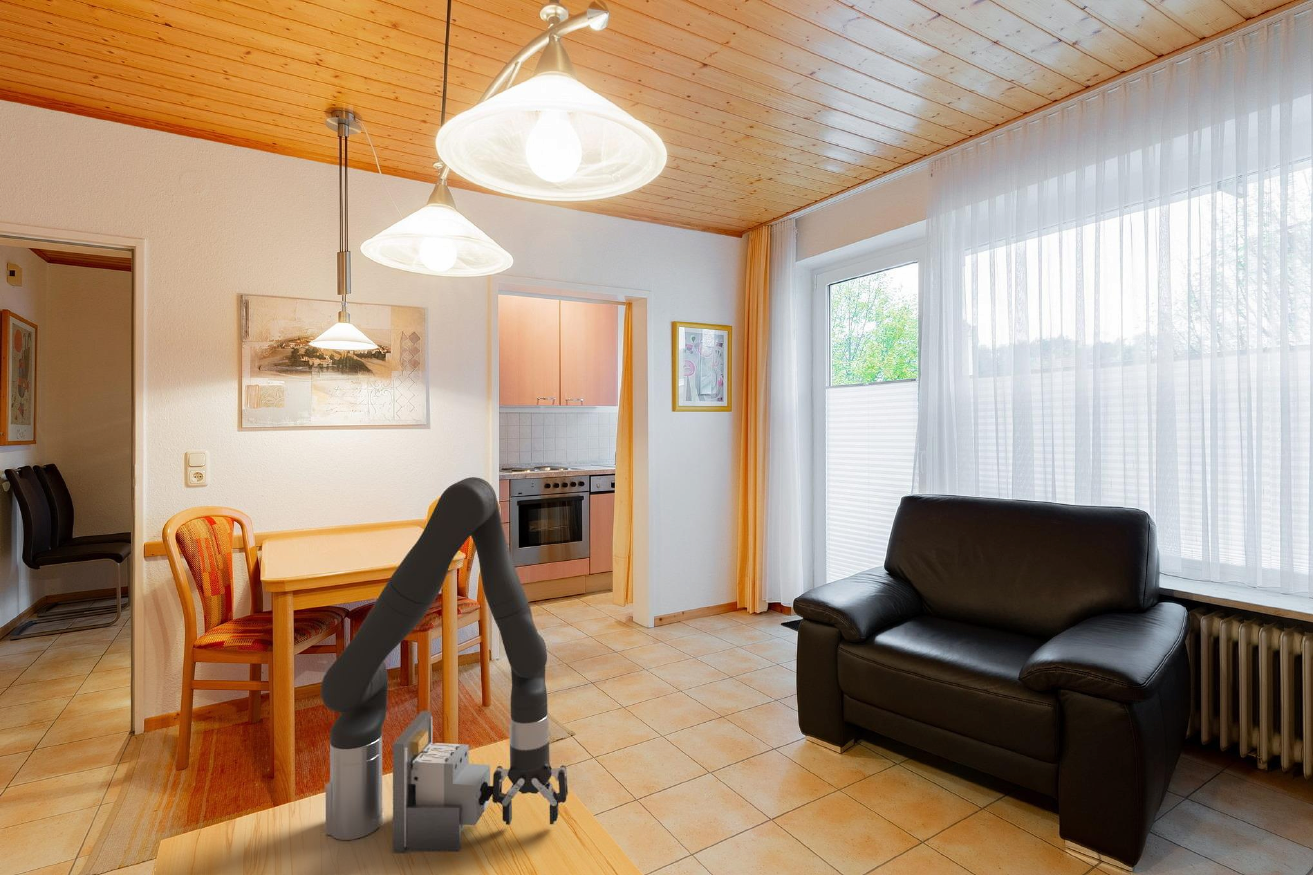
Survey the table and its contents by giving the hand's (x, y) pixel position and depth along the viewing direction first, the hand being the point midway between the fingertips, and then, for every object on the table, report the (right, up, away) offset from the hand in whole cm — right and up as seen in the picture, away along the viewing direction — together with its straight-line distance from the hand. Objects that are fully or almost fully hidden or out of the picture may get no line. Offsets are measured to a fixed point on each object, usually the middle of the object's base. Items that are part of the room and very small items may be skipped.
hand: (530, 822), depth 124 cm
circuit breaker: (-14, -2, -1) cm, 14 cm away
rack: (-19, -1, 0) cm, 19 cm away
